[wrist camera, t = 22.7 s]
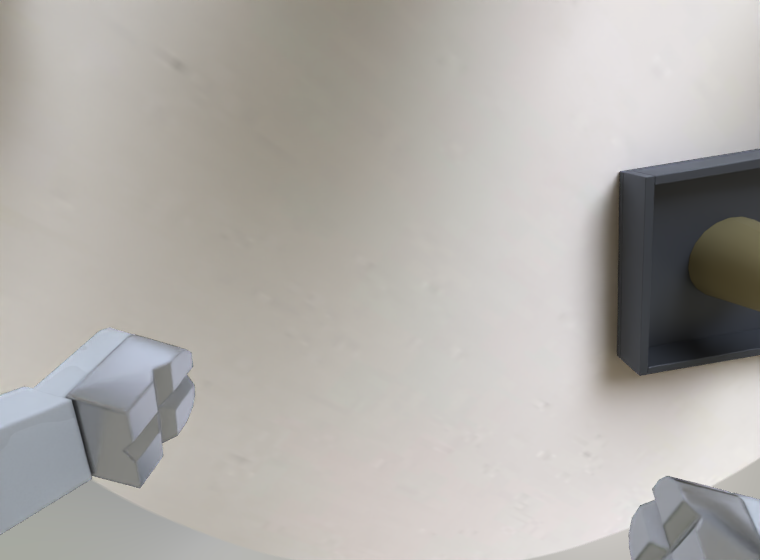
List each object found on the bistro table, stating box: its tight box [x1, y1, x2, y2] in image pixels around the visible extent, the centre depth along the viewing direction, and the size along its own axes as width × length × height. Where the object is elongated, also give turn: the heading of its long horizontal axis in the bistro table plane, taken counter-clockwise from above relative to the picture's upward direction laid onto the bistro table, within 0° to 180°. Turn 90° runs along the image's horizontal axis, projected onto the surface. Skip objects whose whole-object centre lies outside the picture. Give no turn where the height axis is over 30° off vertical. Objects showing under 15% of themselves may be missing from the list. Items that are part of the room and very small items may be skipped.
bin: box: [617, 149, 760, 376], centre depth 35 cm, size 16×14×3 cm
